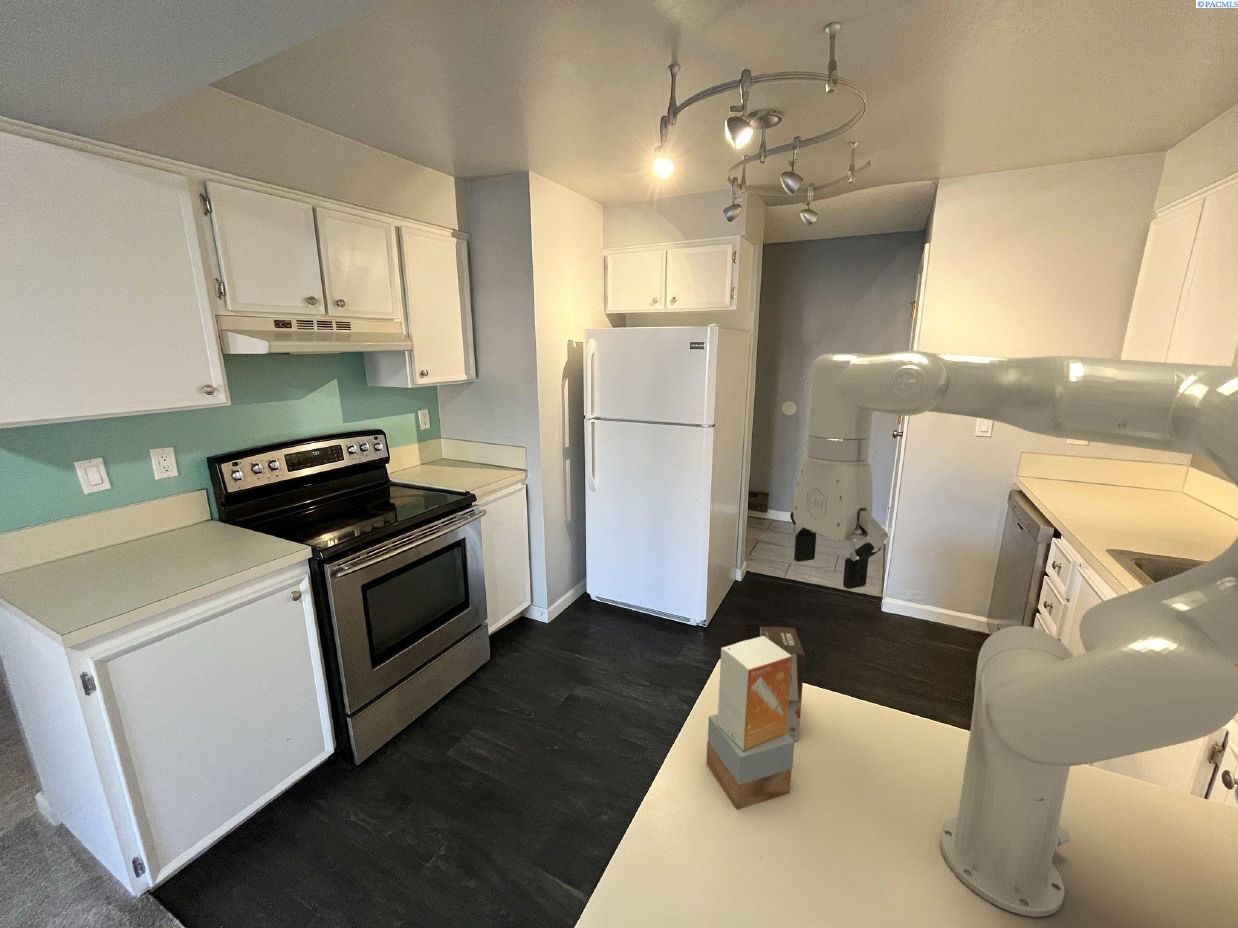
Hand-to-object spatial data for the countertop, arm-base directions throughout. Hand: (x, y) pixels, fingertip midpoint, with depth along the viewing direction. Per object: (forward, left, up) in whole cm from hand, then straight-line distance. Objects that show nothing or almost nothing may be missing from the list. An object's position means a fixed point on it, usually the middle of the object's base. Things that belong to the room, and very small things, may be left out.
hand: (827, 572), depth 71 cm
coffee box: (-4, -14, -34) cm, 37 cm away
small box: (+8, -4, -26) cm, 27 cm away
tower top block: (+8, -5, -30) cm, 31 cm away
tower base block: (+8, -5, -35) cm, 36 cm away
